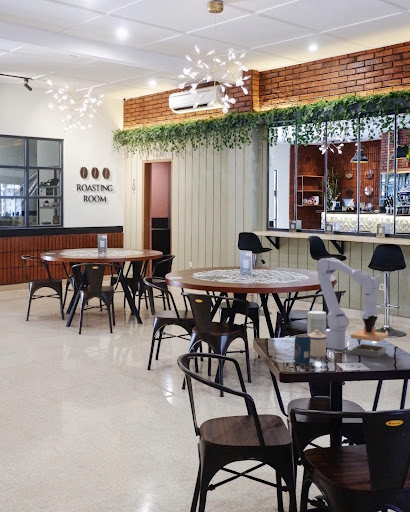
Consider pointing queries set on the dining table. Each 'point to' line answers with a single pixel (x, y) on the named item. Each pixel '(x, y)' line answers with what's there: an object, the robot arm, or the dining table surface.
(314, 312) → the supplement tub
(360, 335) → the lid
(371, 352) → the parts tub
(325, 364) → the dining table surface
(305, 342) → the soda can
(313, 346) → the teacup with lid
